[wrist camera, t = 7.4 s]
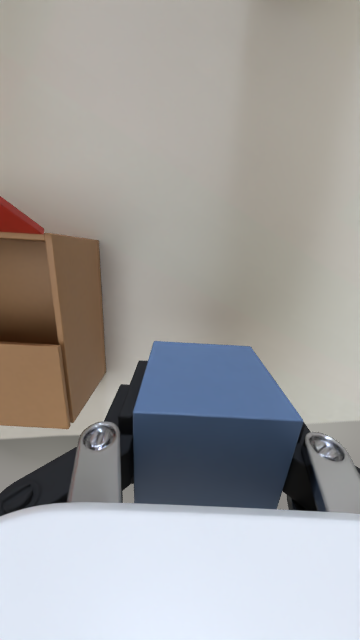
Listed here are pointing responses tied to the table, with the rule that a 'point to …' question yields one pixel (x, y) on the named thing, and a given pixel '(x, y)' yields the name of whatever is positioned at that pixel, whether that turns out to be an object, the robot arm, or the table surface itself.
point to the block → (211, 429)
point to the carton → (49, 328)
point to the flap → (16, 220)
